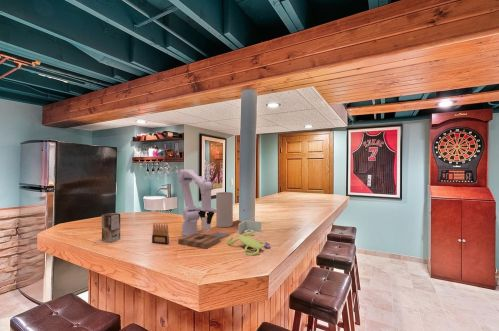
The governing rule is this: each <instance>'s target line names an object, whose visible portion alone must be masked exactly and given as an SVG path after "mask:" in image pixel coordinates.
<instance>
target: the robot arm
mask: <svg viewBox="0 0 499 331" xmlns="http://www.w3.org/2000/svg"><path fill="white" fill-rule="evenodd" d="M177 176H178V180H179V183H180V185H181V189H182V193H183V194H182V195H183V199H184V203H185V208H184V209H183V210H182V218H183V220H184V221H183V222H182V223H181V224H182V225H181V226H182V227H181V233H180V234H181V236H187V235H189V234H192V233H198V234H201V233H200V232H198V221H199V219H201V217H204V216H207V218H208V224H212V221H213V220H212V219H213V217H214V215H215V214H216V213H217V209H216V208H212V191H213V189H214V184H213V182H212V181H207V180H206V179H205V178H204V177H203V176H202V175H201V176H199V175H198V174H197V173H196V171H195V169H193V168H191V169H183V168H182V169H179V170H178V173H177ZM193 181H194V183H195V185H196V186H198V187H199V190H200V194H201V207H199V206H198V207H197V206H196V205H194V200H193V196H192V192H191V187H190V183H192V182H193Z"/></svg>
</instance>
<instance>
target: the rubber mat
mask: <svg viewBox="0 0 499 331" xmlns="http://www.w3.org/2000/svg"><path fill="white" fill-rule="evenodd" d="M210 235H211V236H217V237H220V240H221V239H223V238H226V237H227V236H230V233H227V232H219V231H216V232H213V233H211V234H210Z"/></svg>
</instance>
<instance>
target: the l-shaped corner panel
mask: <svg viewBox="0 0 499 331" xmlns="http://www.w3.org/2000/svg"><path fill="white" fill-rule="evenodd" d="M237 226H238V228H237V229H238V233H237V234H238V235H241V234H243V233H247V232H253V233H256V232H257V233H262V221H257V220H243V221H242V222H240V223H238V225H237Z"/></svg>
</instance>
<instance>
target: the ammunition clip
mask: <svg viewBox="0 0 499 331" xmlns="http://www.w3.org/2000/svg"><path fill="white" fill-rule="evenodd" d="M151 244H156V245H157V244H158V245H167V246H168V245H169V244H170V234H169V225H168V223H166V224H165V223H164V224H163V223H157V222H156V223H155V222H153V224H152V235H151Z"/></svg>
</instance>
